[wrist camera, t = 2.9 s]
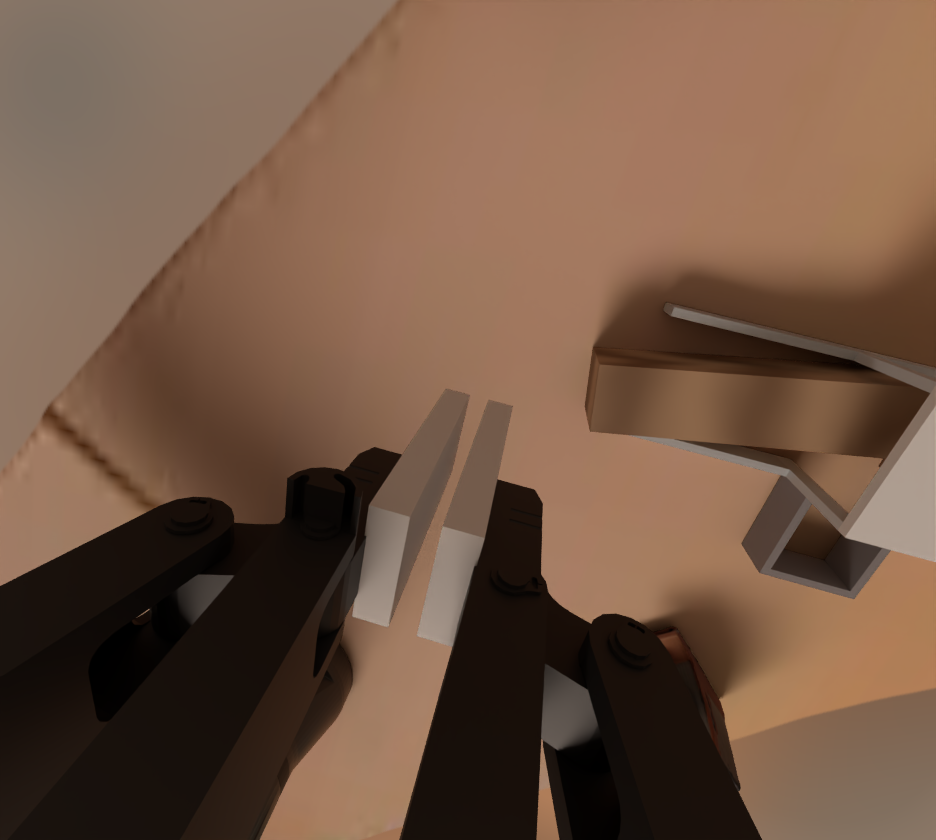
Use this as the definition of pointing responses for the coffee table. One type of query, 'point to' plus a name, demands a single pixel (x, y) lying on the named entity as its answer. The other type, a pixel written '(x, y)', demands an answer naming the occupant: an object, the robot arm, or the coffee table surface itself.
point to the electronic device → (700, 695)
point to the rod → (749, 401)
